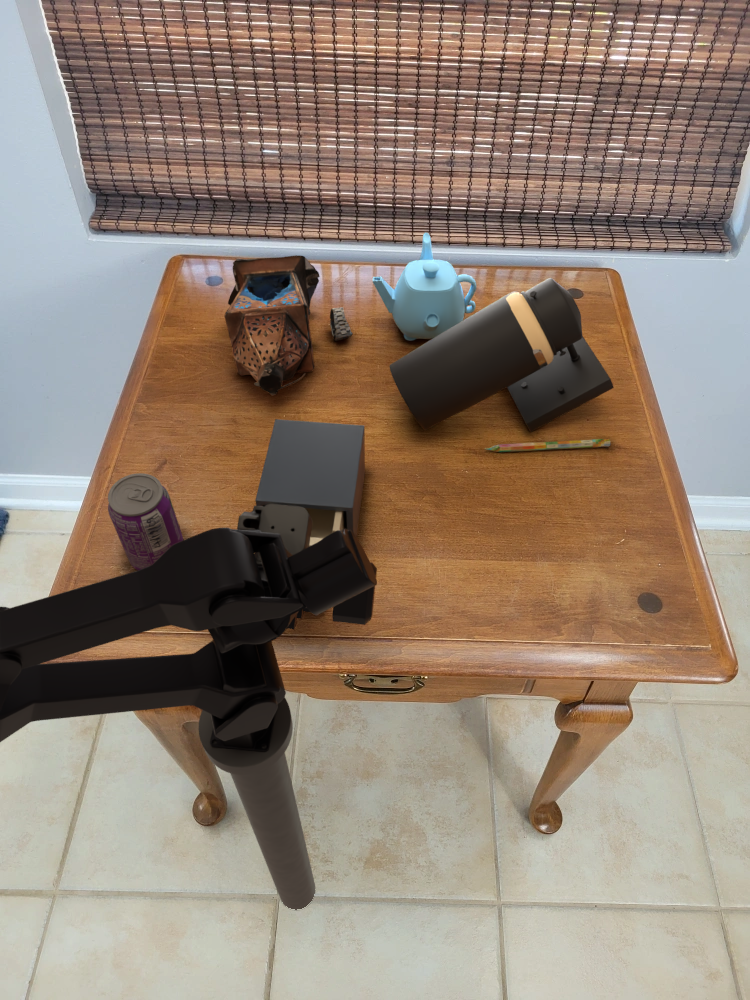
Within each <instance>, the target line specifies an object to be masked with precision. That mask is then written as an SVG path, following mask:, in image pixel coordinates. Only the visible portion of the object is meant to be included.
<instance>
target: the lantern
mask: <svg viewBox="0 0 750 1000" xmlns="http://www.w3.org/2000/svg"><path fill="white" fill-rule="evenodd" d="M232 273H233V274H232V275H233V278H234V282H235V285H234V287H233V289H232V291H231V292H230V295H229V298H228V301H227V304H228V305H229V307H228V308H227V310H226V311H225V313H224V314H223V316H224V317H223V318H224V320H225V323H226V328H227V331H228V337H229V341H230V346H231V348H232V357H233V358H234V362H235V367H236V371H237V372H236V373H237V374H239V375H240V376H241V377H242V376H243V377H244V376H251V377H252V378H253V379H254V380H255V381H256V382H254V383H253V385H254V386H256V387H259V388H260V389H261V390H263V391H265V392H266V393H268V394H269V395H270V396H275V395H278V393H279V391H280V390H282V389H285V388H288V387H290V386H291V385H294V384H296V383H297V382H299V381H301V380H302V379H303V378H304V377H305V376H306V374H307V373H311V372H313V371H314V370H315V360H314V351H313V349H314V348H313V343H312V334H311V325H310V315H311V309H310V308H311V301H312V298H313V295H314V293H315V291H316V288H317V286H318V284H319V282H320V280H319V278H320V277H321V276H320V273H319V271H318V270H317V269H316V268H315V266H314V265H312V263H311V262H310V261H309V259H308V258H306V256H304V255H289V256H288V255H287V256H279V257H278V256H277V257H261V258H260V257H259V258H239V257H238V258H235V260H234V261H233V262H232ZM297 373H302V376H300V377H299V378H297V379H296V380H294V381H292V382H289V383H287V384H284V385H283V383H284V382H286V381H289V380H292V379H293V378H294V377H295V374H297Z"/></svg>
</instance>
